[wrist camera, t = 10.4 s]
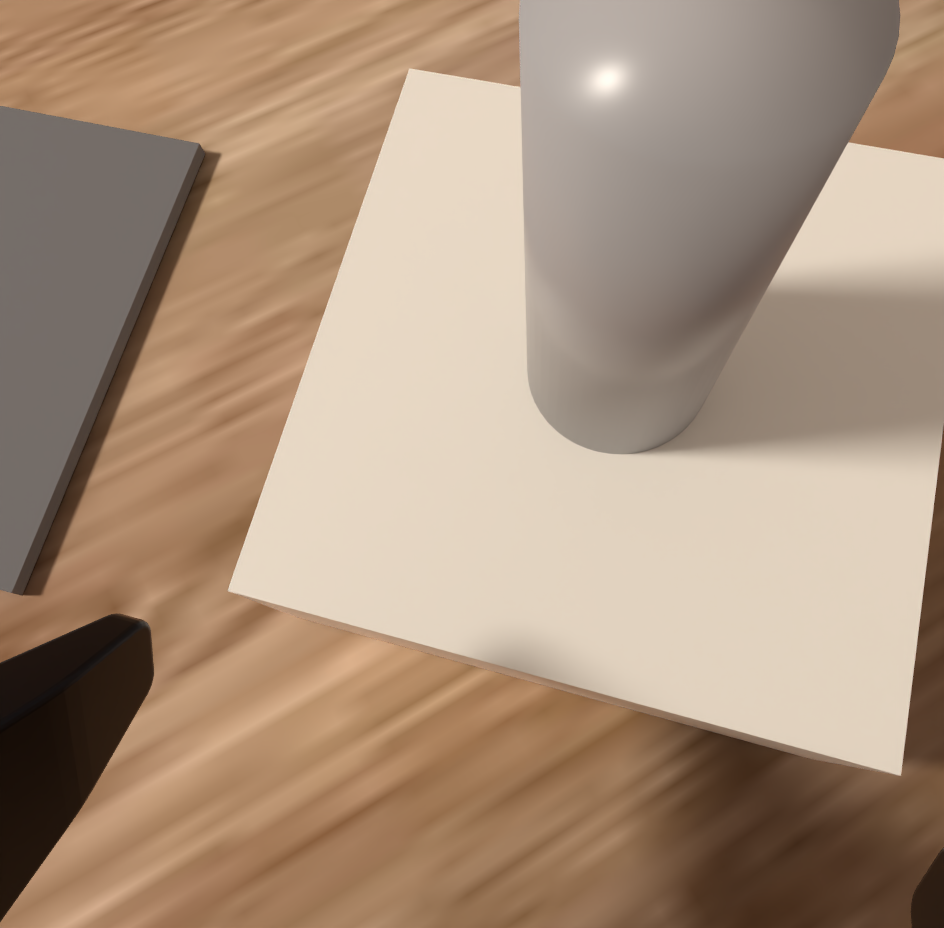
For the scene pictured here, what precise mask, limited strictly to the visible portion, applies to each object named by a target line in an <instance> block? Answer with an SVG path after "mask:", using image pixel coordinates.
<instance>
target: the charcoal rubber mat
mask: <svg viewBox="0 0 944 928" xmlns="http://www.w3.org/2000/svg"><path fill="white" fill-rule="evenodd" d="M204 155H205V152H204V151H203V149H202V147H201V146H200V144H199V143H194V142H188V141H183V140H178V139H173V138H167V137H162V136H157V135H151V134H146V133H141V132H136V131H130V130H125V129H120V128H114V127H109V126H104V125H99V124H93V123H88V122H83V121H78V120H72V119H67V118H62V117H56V116H51V115H46V114H41V113H35V112H30V111H25V110H20V109H14V108H9V107H4V106H0V590H3V591H7V592H10V593H14V594H19V595H23V592H24V590H25V588H26V585H27V583H28V580H29V578H30V576H31V573H32V571H33V568H34V566H35V564H36V561H37V559H38V556H39V554H40V551H41V549H42V547H43V544H44V542H45V539H46V537H47V535H48V532H49V530H50V527H51V525H52V522H53V520H54V518H55V515H56V513H57V510H58V508H59V506H60V503H61V501H62V498H63V496H64V493H65V491H66V489H67V486H68V484H69V481H70V479H71V477H72V474H73V472H74V469H75V467H76V465H77V462H78V460H79V457H80V455H81V452H82V450H83V448H84V445H85V443H86V440H87V438H88V436H89V433H90V431H91V428H92V426H93V423H94V421H95V419H96V416H97V414H98V411H99V409H100V407H101V404H102V402H103V399H104V397H105V394H106V392H107V390H108V387H109V385H110V382H111V380H112V378H113V375H114V373H115V370H116V368H117V366H118V363H119V361H120V358H121V356H122V353H123V351H124V349H125V346H126V344H127V341H128V339H129V337H130V334H131V332H132V329H133V327H134V324H135V322H136V320H137V317H138V315H139V312H140V310H141V308H142V305H143V303H144V300H145V298H146V295H147V293H148V291H149V288H150V286H151V283H152V281H153V279H154V276H155V274H156V271H157V269H158V267H159V264H160V262H161V259H162V257H163V254H164V252H165V250H166V247H167V245H168V242H169V240H170V238H171V235H172V233H173V230H174V228H175V225H176V223H177V221H178V218H179V216H180V213H181V211H182V209H183V206H184V204H185V201H186V199H187V196H188V194H189V192H190V189H191V187H192V184H193V182H194V180H195V177H196V175H197V172H198V170H199V168H200V165H201V163H202V160H203V158H204Z"/></svg>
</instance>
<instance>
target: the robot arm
mask: <svg viewBox="0 0 944 928" xmlns="http://www.w3.org/2000/svg"><path fill="white" fill-rule="evenodd" d="M153 677H154V664H153V651H152V639H151V630H150V627H149V625H148V623H147V622H145V621H144V620H141V619H137V618H134V617H130V616H126V615H123V614H111V615H108V616H106V617H103V618H101V619H99V620H97V621H94V622H92V623H90V624H87V625H85V626H83V627H81V628H78V629H76V630H74V631H72V632H69V633H67V634H65V635H62V636H60V637H58V638H56V639H53V640H51V641H49V642H47V643H44V644H42V645H40V646H38V647H35V648H33V649H31V650H28V651H26V652H24V653H22V654H19V655H17V656H15V657H13V658H10V659H8V660H6V661H3V662H1V663H0V922H1V920H2V919H3V917H4V916H5V915H6V913H7V912H8V910H9V909H10V908H11V906H12V905H13V903H14V902H15V901H16V899H17V898H18V897H19V895H20V894H21V892H22V891H23V890H24V888H25V887H26V885H27V884H28V883H29V881H30V880H31V878H32V877H33V876H34V874H35V873H36V871H37V870H38V869H39V867H40V866H41V864H42V863H43V862H44V860H45V859H46V857H47V856H48V855H49V853H50V852H51V850H52V849H53V848H54V846H55V845H56V843H57V842H58V841H59V839H60V838H61V836H62V835H63V834H64V832H65V831H66V829H67V828H68V827H69V825H70V824H71V822H72V821H73V819H74V818H75V816H76V815H77V814H78V812H79V811H80V809H81V808H82V806H83V805H84V803H85V801H86V800H87V798H88V796H89V795H90V793H91V791H92V790H93V788H94V786H95V785H96V783H97V781H98V779H99V778H100V776H101V774H102V773H103V771H104V769H105V767H106V766H107V764H108V762H109V760H110V759H111V757H112V755H113V753H114V752H115V750H116V748H117V746H118V745H119V743H120V741H121V739H122V738H123V736H124V734H125V732H126V731H127V729H128V727H129V725H130V724H131V722H132V720H133V718H134V717H135V715H136V713H137V711H138V710H139V708H140V706H141V704H142V703H143V701H144V699H145V697H146V696H147V694H148V692H149V690H150V687H151V685H152V681H153ZM911 920H912V928H944V848H943V849H942V850H941V851H940V853H939V854H938V856H937V857H936V859H935V860H934V862H933V863H932V865H931V866H930V868H929V869H928V871H927V873H926V874H925V876H924V877H923V879H922V880H921V882H920V883H919V885H918V886H917V888H916V890H915V892H914V895H913V898H912V904H911Z"/></svg>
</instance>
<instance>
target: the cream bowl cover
mask: <svg viewBox="0 0 944 928" xmlns="http://www.w3.org/2000/svg"><path fill="white" fill-rule="evenodd" d="M899 26H900V8H899V0H520V9H519V42H520V84H521V87H516V86H510V85H505V84H499V83H493V82H487V81H481V80H475V79H469V78H463V77H457V76H451V75H445V74H439V73H433V72H428V71H422V70H416V69H409V72H408V75H407V77H406V80H405V83H404V86H403V89H402V92H401V95H400V97H399V100H398V103H397V106H396V109H395V112H394V115H393V118H392V120H391V123H390V126H389V129H388V132H387V135H386V138H385V141H384V143H383V146H382V149H381V152H380V155H379V158H378V161H377V163H376V166H375V169H374V172H373V175H372V178H371V181H370V184H369V186H368V189H367V192H366V195H365V198H364V201H363V204H362V207H361V209H360V212H359V215H358V218H357V221H356V224H355V227H354V229H353V232H352V235H351V238H350V241H349V244H348V247H347V250H346V252H345V255H344V258H343V261H342V264H341V267H340V270H339V273H338V275H337V278H336V281H335V284H334V287H333V290H332V293H331V295H330V298H329V301H328V304H327V307H326V310H325V313H324V316H323V318H322V321H321V324H320V327H319V330H318V333H317V336H316V339H315V341H314V344H313V347H312V350H311V353H310V356H309V359H308V361H307V364H306V367H305V370H304V373H303V376H302V379H301V382H300V384H299V387H298V390H297V393H296V396H295V399H294V402H293V405H292V407H291V410H290V413H289V416H288V419H287V422H286V425H285V427H284V430H283V433H282V436H281V439H280V442H279V445H278V448H277V450H276V453H275V456H274V459H273V462H272V465H271V468H270V471H269V473H268V476H267V479H266V482H265V485H264V488H263V491H262V493H261V496H260V499H259V502H258V505H257V508H256V511H255V514H254V516H253V519H252V522H251V525H250V528H249V531H248V534H247V537H246V539H245V542H244V545H243V548H242V551H241V554H240V557H239V559H238V562H237V565H236V568H235V571H234V574H233V577H232V580H231V582H230V585H229V588H228V591H229V592H232V593H234V594H237V595H240V596H242V597H245V598H248V599H250V600H253V601H255V602H258V603H261V604H263V605H266V606H269V607H271V608H274V609H277V610H279V611H282V612H284V613H287V614H290V615H292V616H295V617H298V618H302V619H305V620H309V621H312V622H316V623H320V624H323V625H327V626H331V627H334V628H338V629H341V630H345V631H349V632H352V633H356V634H360V635H363V636H367V637H370V638H374V639H378V640H381V641H385V642H389V643H392V644H396V645H399V646H403V647H407V648H410V649H414V650H418V651H421V652H425V653H428V654H432V655H436V656H439V657H443V658H447V659H450V660H454V661H457V662H461V663H465V664H468V665H472V666H475V667H479V668H483V669H486V670H490V671H494V672H497V673H501V674H504V675H508V676H512V677H515V678H519V679H523V680H526V681H530V682H533V683H537V684H541V685H544V686H548V687H552V688H555V689H559V690H562V691H566V692H570V693H573V694H577V695H581V696H584V697H588V698H591V699H595V700H599V701H602V702H606V703H610V704H613V705H617V706H620V707H624V708H628V709H631V710H635V711H639V712H642V713H646V714H649V715H653V716H657V717H660V718H664V719H667V720H671V721H675V722H678V723H682V724H686V725H689V726H693V727H696V728H700V729H704V730H707V731H711V732H715V733H718V734H722V735H725V736H729V737H733V738H736V739H740V740H744V741H747V742H751V743H754V744H758V745H762V746H765V747H769V748H773V749H776V750H780V751H783V752H787V753H791V754H794V755H798V756H802V757H805V758H809V759H813V760H819V761H824V762H829V763H835V764H840V765H845V766H851V767H856V768H861V769H867V770H872V771H878V772H883V773H888V774H894V775H899V776H901V771H902V762H903V754H904V746H905V738H906V730H907V721H908V713H909V705H910V697H911V689H912V680H913V672H914V664H915V656H916V648H917V639H918V631H919V623H920V615H921V607H922V598H923V590H924V582H925V574H926V566H927V557H928V549H929V541H930V533H931V525H932V516H933V508H934V500H935V492H936V484H937V475H938V467H939V459H940V451H941V443H942V434H943V426H944V159H943V158H937V157H931V156H925V155H919V154H913V153H907V152H901V151H895V150H890V149H884V148H878V147H872V146H866V145H860V144H854V143H848V142H849V140H850V138H851V136H852V135H853V133H854V131H855V129H856V127H857V126H858V124H859V122H860V120H861V118H862V117H863V115H864V113H865V111H866V109H867V108H868V106H869V104H870V102H871V100H872V99H873V97H874V95H875V93H876V91H877V89H878V88H879V86H880V84H881V82H882V80H883V79H884V77H885V75H886V73H887V70H888V68H889V66H890V64H891V61H892V59H893V57H894V53H895V49H896V45H897V41H898V37H899Z"/></svg>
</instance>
